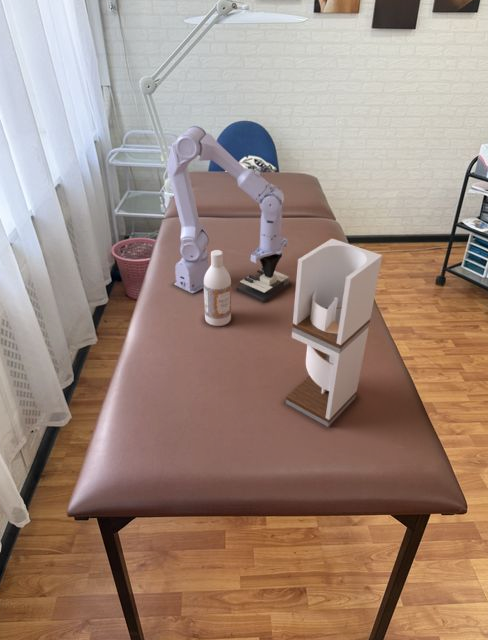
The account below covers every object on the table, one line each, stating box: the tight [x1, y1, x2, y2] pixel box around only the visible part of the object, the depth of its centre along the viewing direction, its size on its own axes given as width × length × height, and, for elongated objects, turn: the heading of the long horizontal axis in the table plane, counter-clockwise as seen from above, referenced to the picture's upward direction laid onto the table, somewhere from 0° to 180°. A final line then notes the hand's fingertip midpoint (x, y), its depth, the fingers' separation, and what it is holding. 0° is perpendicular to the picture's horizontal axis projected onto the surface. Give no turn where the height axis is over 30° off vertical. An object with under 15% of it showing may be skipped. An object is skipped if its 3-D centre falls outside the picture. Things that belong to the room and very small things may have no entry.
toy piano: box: [236, 273, 292, 304], centre depth 149 cm, size 10×13×3 cm
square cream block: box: [260, 274, 277, 286], centre depth 147 cm, size 4×4×2 cm
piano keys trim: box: [239, 267, 290, 293], centre depth 147 cm, size 9×12×1 cm
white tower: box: [285, 238, 383, 428], centre depth 101 cm, size 11×11×35 cm
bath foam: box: [203, 249, 232, 327], centre depth 130 cm, size 7×7×20 cm
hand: (268, 276), depth 146 cm, fingers closed
